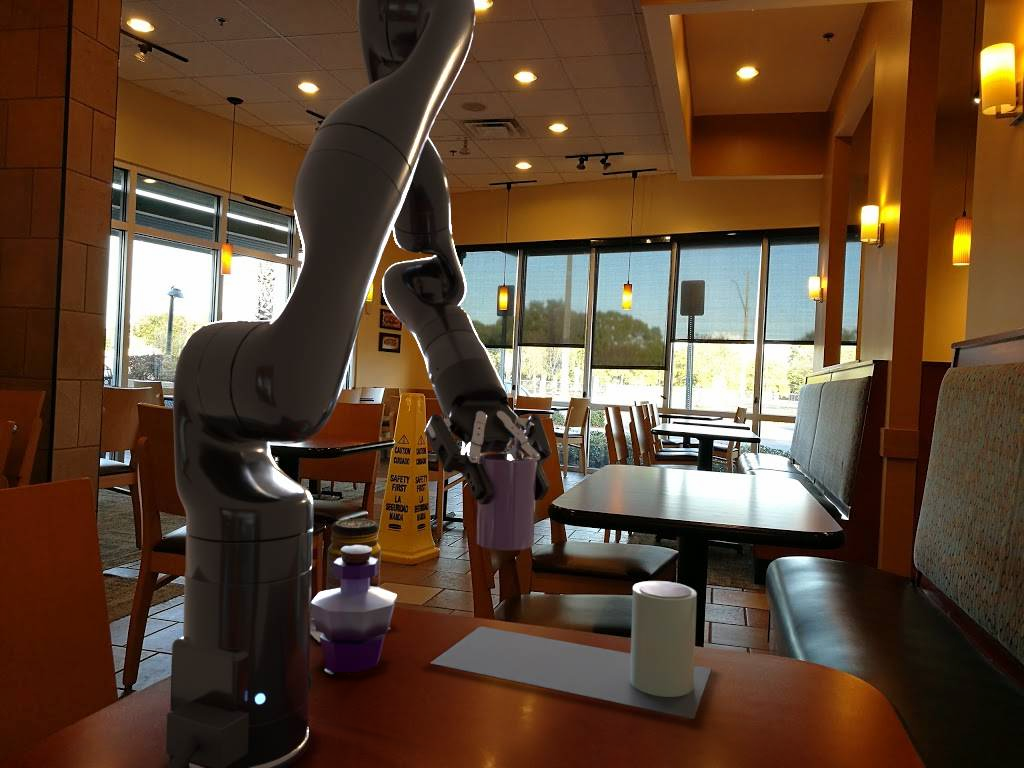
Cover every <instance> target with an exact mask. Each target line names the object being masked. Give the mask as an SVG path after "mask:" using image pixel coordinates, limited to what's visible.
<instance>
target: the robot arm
mask: <svg viewBox="0 0 1024 768" xmlns="http://www.w3.org/2000/svg"><path fill="white" fill-rule="evenodd" d="M356 4H357V6H356V7H357V8H356V20H357V21H356V22H357V32H358V40H359V44H360V50H361V56H362V60H363V64H364V69H365V74H366V78H367V84H368V86H366V87H364V88H362V89H361V90H359V91H357V92H356V93H354V94H353V95H351V96H350V97H348V98H347V99H345V100H344V101H343V102H342V103H340V104H339V105H337V107H336V108H334V109H333V110H332V111H331V112H330V113H328V115H326V117H324V119H323V120H322V122H321V123H320V125H319V126H318V128H317V129H316V132H315V133H314V136H313V137H312V139H311V141H310V144H309V146H308V147H307V149H306V152H305V153H304V156H303V158H302V160H301V162H300V164H299V167H298V169H297V172H296V175H295V177H294V180H293V189H292V201H293V203H292V204H293V209H294V215H295V220H296V225H297V228H298V232H299V236H300V240H301V244H302V250H303V251H302V252H303V258H302V264H301V268H300V270H299V273H298V276H297V279H296V282H295V284H294V287H293V288H292V291H291V293H290V295H289V297H288V299H287V302H286V303H285V305H284V307H283V308H282V310H281V312H280V313H279V315H278V316H277V317H276V318H275V319H273V320H219V321H214V322H210V323H209V322H208V323H206V324H204V325H203V326H201V327H199V328H197V329H196V330H195V331H194V332H193V333H192V334H191V335H190V336H189V337H188V338H187V340H186V341H185V343H184V345H183V347H182V349H181V351H180V354H179V356H178V359H177V361H176V362H177V363H176V366H175V370H174V371H175V372H174V377H173V378H174V379H173V389H172V390H173V391H172V393H173V394H172V417H173V446H174V447H173V448H174V449H173V450H174V451H173V452H174V474H175V475H174V476H175V477H174V479H175V487H176V492H177V495H178V497H179V500H180V503H181V504H182V507H183V509H184V512H185V555H184V556H185V558H184V559H185V561H184V589H183V590H184V591H183V593H184V594H183V629H182V630H183V631H182V632H183V633H182V637H179V638H176V639H174V641H173V642H172V644H171V666H170V667H171V670H170V671H171V672H170V673H171V674H170V707H169V708H170V710H169V712H168V713H166V741H165V742H166V743H165V746H166V747H165V751H166V752H165V753H166V754H167V755H168V765H167V766H166V768H288V767H291V766H292V765H293V764H295V763H296V762H297V761H298V760H300V759H301V757H303V755H304V754H305V753H306V751H307V749H308V747H309V739H310V738H309V737H310V736H309V735H310V729H309V723H308V722H309V697H310V696H309V695H310V694H309V693H310V692H309V691H311V692H312V691H313V675H312V674H311V673H310V655H311V654H310V652H311V634H310V623H311V618H312V608H311V601H312V588H313V587H312V585H313V584H312V582H313V579H312V578H313V559H314V558H313V555H314V553H313V552H314V551H313V550H314V520H315V519H314V518H315V516H314V515H315V514H314V513H315V512H314V511H315V504H314V503H315V502H314V497H313V495H312V493H311V492H310V490H308V489H307V488H306V487H305V486H303V485H302V484H301V483H299V482H297V481H295V480H294V479H292V478H291V477H290V476H289V475H288V474H286V473H285V472H284V471H283V470H282V469H281V468H280V467H279V465H278V464H277V462H276V461H275V459H274V457H273V455H272V451H271V444H282V445H283V444H284V445H286V444H289V445H291V444H292V445H293V444H300V443H304V442H307V441H309V440H310V439H312V438H314V437H316V436H317V435H318V434H319V432H321V431H322V430H323V429H324V427H325V426H326V425H327V423H328V421H329V420H330V418H331V417H332V414H333V413H334V411H335V409H336V406H337V404H338V401H339V399H340V396H341V392H342V390H343V388H344V387H343V386H344V384H345V381H346V377H347V373H348V370H349V367H350V363H351V359H352V356H353V352H354V348H355V343H356V339H357V336H358V333H359V328H360V325H361V320H362V317H363V313H364V310H365V306H366V304H367V303H366V302H367V299H368V296H369V293H370V290H371V287H372V284H373V281H374V278H375V276H376V273H377V269H378V267H379V264H380V261H381V258H382V256H383V253H384V250H385V248H386V245H387V242H388V240H389V237H390V235H391V232H392V231H393V237H394V241H395V243H396V245H398V247H399V248H401V249H402V250H404V251H406V252H410V253H413V254H421V255H422V254H423V255H431V257H425V258H420V259H413V260H406V261H402V262H396V263H394V264H391V266H389V267H388V268H387V270H386V271H385V273H384V274H383V278H382V287H381V288H382V293H383V297H384V299H385V302H386V304H387V306H388V307H389V309H390V311H391V312H392V313H393V315H394V316H395V318H397V320H399V322H400V323H402V325H403V326H404V327H405V328H406V329H407V330H408V331H409V332H410V334H411V336H413V338H414V339H415V340H416V342H417V344H418V347H419V350H420V352H421V355H422V357H423V360H424V363H425V366H426V371H427V375H428V378H429V381H430V383H431V386H432V388H433V391H434V395H435V396H436V399H437V402H438V404H439V407H440V409H441V411H442V415H443V416H441V415H440V414H438V413H434V414H432V415H431V417H430V419H429V421H428V423H427V425H426V427H425V429H424V435H425V437H426V439H427V440H428V443H429V444H430V446H431V448H432V450H433V452H434V454H435V456H436V458H437V459H438V462H439V463H440V465H441V468H442V470H443V471H444V472H446V473H448V474H450V473H451V474H452V473H453V472H454V471H455V472H458V473H460V474H461V476H463V477H464V478H465V481H466V485H467V486H468V488H469V491H470V494H471V496H472V498H473V499H474V500H475V501H476V500H477V503H478V502H479V504H480V505H483V504H488V503H489V501H490V500H491V498H492V496H493V488H492V486H491V484H490V481H489V479H488V476H487V474H486V471H485V469H484V467H483V464H479V458H480V456H481V454H485V453H488V452H492V453H499V454H518V455H522V454H523V455H526V456H531V457H534V458H536V459H537V462H536V491H535V501H542V500H543V499H544V498H545V496H546V495H547V494H548V492H549V489H550V482H549V479H548V478H547V476H546V474H545V471H544V469H543V466H544V465H545V463H546V461H547V460H548V459H549V457H551V455H552V453H553V452H552V447H551V445H550V443H549V440H548V437H547V434H546V431H545V428H544V425H543V423H542V422H543V421H542V419H541V417H540V416H539V415H538V414H536V413H532V414H531V415H530V416H529V417H528V418H526V417H520V416H519V417H518V415H517V414H516V412H514V411H513V410H512V409H511V408H510V405H509V398H508V397H509V396H508V393H507V390H506V388H505V386H504V384H503V382H502V380H501V378H500V375H499V373H498V371H497V369H496V366H495V365H494V362H493V360H492V358H491V356H490V354H489V352H488V350H487V349H486V347H485V345H484V344H483V343H482V341H481V340H480V338H479V335H478V333H477V332H476V329H475V328H474V325H473V323H472V320H471V318H470V316H469V314H468V313H467V312H466V310H465V309H464V308H463V307H461V306H460V305H461V303H462V302H463V301H464V299H465V297H466V293H467V282H466V278H465V274H464V271H463V269H462V266H461V264H460V260H459V257H458V255H457V252H456V248H455V244H454V239H453V232H452V224H451V223H452V222H451V221H452V220H451V189H450V181H449V176H448V173H447V170H446V167H445V165H444V162H443V160H442V159H441V158H442V157H441V156H440V154H439V153H438V151H437V149H436V147H435V146H434V144H433V142H432V141H431V139H430V138H429V133H430V131H431V128H432V126H433V124H434V122H435V119H436V117H437V115H438V113H439V111H440V109H441V108H442V106H443V104H444V102H445V101H446V99H447V96H448V94H449V92H450V91H451V89H452V87H453V85H454V83H455V81H456V79H457V78H458V76H459V74H460V71H461V69H462V68H463V66H464V63H465V61H466V58H467V56H468V53H469V50H470V48H471V44H472V40H473V37H474V30H475V22H476V4H475V0H357V3H356ZM453 436H455V437H456V438H457V439H458V440H459V441H461V442H462V446H461V449H460V448H459V446H458V444H457V442H456V441H455V439H454V437H453ZM513 441H514V444H513V445H512V447H510V445H511V443H512V442H513Z"/></svg>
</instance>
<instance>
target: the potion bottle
mask: <svg viewBox="0 0 1024 768" xmlns="http://www.w3.org/2000/svg"><path fill="white" fill-rule="evenodd" d="M371 552H372V548H371V547H368V546H363V545H353V546H344V547H342V548H341V558H337V559H336V561H335V562H334V565H333V575H334V576H336V577H339V578H341V586H340V588H337V589H332V590H328V591H327V590H323V591H318V593H317V594H316V596H315V597H314V598H313V599H311V614H312V618H314V623H315V628H316V632H318V631H319V632H322V635H321V636H320V646H321V650H322V656H323V661H324V665H325V668H324V672H325V673H328V674H329V675H330V676H332V675H333V674H335V673H337V672H339V673H361V672H364V671H367V670H369V669H373V668H376V667H377V666H378V664H379V661H380V659H381V654H382V650H383V647H384V642H385V638H386V635H387V633H388V631H389V630H390V629H389V627H390V628H391V622H392V618H393V614H394V610H395V606H396V602H397V598H398V594H397V593H395V592H392V591H390V590H387V589H385V588H381V587H380V588H379V587H372V586H370V577H374V576H375V575H376V573H377V571H378V559H375V558H372V557H370V556H371ZM388 629H389V630H388Z"/></svg>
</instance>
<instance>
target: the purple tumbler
mask: <svg viewBox="0 0 1024 768" xmlns="http://www.w3.org/2000/svg"><path fill="white" fill-rule="evenodd" d="M536 462H537V459H536V458H534V457H531V456H526V455H525V454H521V455H518V454H501V453H490V454H482V455H480V458H479V462H478V464H483V467H484V469H485V471H486V474H487V476H488V479H489V481H490V484H491V486H492V488H493V496H492V498H491V500H490V501H489V503H488V504H483V505H480V504H479V502H478V501H477V507H476V508H477V511H476V540H475V541H476V544H477V545H478V546H479V547H481V548H485V549H488V550H496V551H521V550H527V549H530V548H531V547H532V548H533V546H534V543H535V520H536V519H535V517H536V515H535V514H536V500H535V491H536Z"/></svg>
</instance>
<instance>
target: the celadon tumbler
mask: <svg viewBox="0 0 1024 768" xmlns="http://www.w3.org/2000/svg"><path fill="white" fill-rule="evenodd" d="M697 593H698V592H697V591H696V590H695V589H693V587H690V586H687V585H685V584H681V583H677V582H672V581H664V580H663V581H662V580H648V581H641V582H638V583H635V584H634V585H633V586H632V598H631V601H632V602H631V627H630V630H631V631H630V653H629V654H630V683H631V684H632V686H634V687H635V688H636V689H638V690H640V691H642V692H644V693H647V694H651V695H655V696H662V697H678V696H683V695H686V694H688V693H690V692H691V691H692V690H693V682H694V665H695V650H696V629H697V627H696V625H697V599H698V594H697Z"/></svg>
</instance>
